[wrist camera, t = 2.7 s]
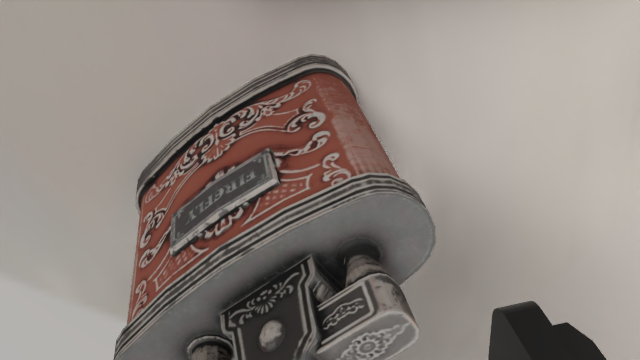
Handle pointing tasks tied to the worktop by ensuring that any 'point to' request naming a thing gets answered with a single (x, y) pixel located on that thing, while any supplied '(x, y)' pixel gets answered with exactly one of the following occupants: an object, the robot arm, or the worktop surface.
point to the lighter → (276, 231)
